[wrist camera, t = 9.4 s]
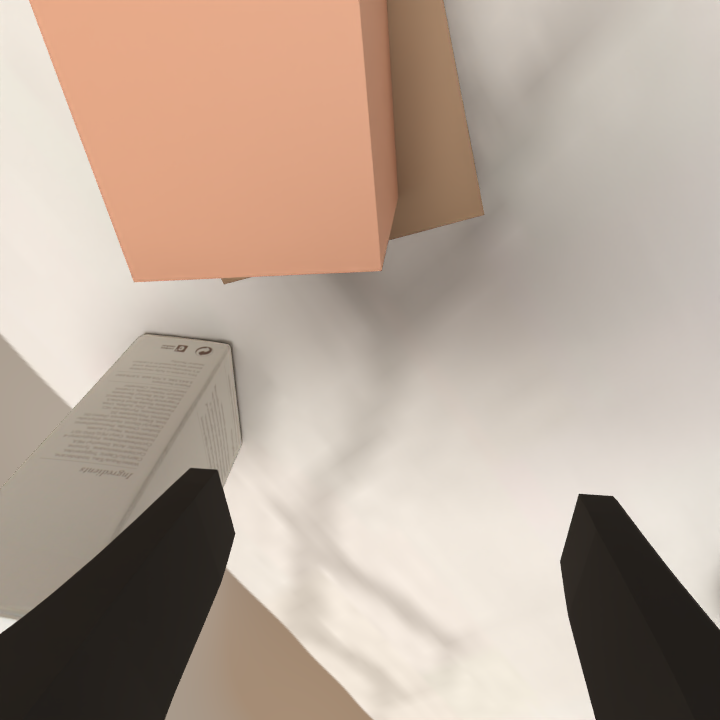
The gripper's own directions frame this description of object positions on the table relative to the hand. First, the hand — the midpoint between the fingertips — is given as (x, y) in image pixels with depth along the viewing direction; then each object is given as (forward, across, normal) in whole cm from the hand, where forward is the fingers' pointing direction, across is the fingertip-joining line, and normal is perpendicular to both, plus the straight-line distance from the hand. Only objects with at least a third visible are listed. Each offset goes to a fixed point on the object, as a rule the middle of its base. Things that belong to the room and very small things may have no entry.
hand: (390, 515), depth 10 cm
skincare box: (+11, +10, +5) cm, 15 cm away
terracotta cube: (+7, +3, -7) cm, 10 cm away
